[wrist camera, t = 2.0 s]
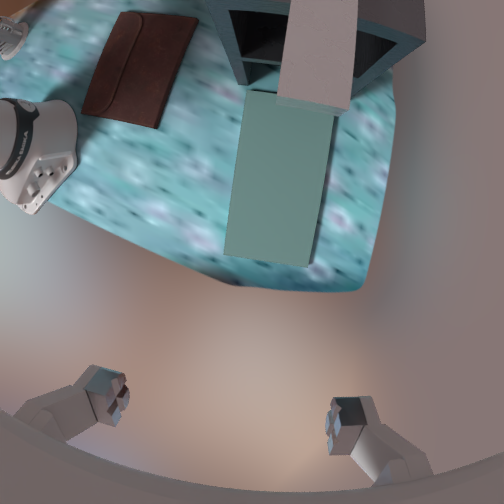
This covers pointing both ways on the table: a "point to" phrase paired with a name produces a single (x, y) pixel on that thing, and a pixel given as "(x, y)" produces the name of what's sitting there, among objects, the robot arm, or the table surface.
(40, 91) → the table surface
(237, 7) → the rack
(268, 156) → the mat
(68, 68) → the table surface
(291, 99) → the aluminium strip
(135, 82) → the notebook
